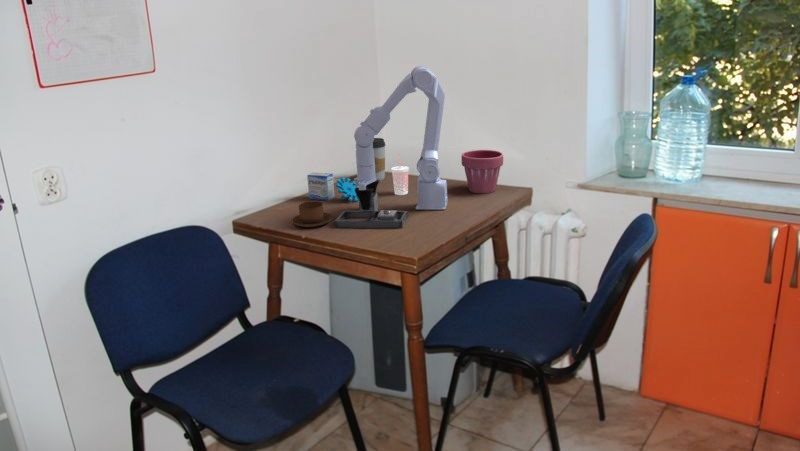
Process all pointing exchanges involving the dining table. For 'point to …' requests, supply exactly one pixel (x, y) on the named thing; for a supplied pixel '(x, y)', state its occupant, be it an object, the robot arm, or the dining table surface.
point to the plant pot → (482, 169)
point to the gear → (347, 189)
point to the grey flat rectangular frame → (370, 222)
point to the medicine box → (320, 186)
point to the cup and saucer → (311, 215)
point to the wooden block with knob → (387, 215)
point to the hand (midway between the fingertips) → (368, 206)
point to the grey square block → (371, 203)
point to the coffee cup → (379, 158)
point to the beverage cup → (400, 179)
